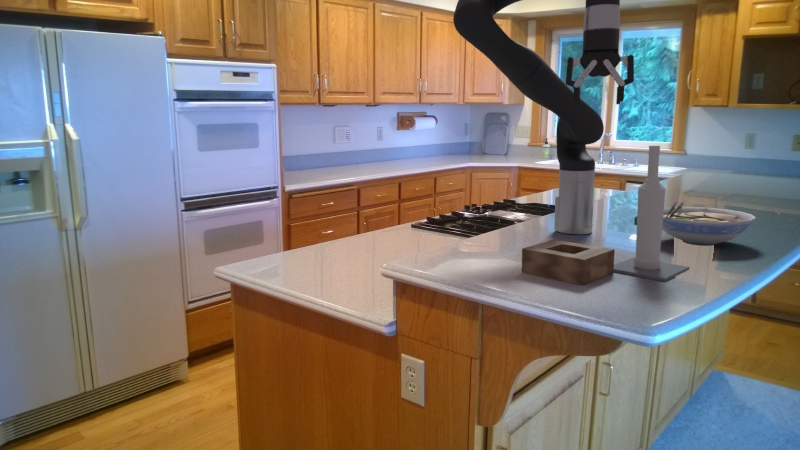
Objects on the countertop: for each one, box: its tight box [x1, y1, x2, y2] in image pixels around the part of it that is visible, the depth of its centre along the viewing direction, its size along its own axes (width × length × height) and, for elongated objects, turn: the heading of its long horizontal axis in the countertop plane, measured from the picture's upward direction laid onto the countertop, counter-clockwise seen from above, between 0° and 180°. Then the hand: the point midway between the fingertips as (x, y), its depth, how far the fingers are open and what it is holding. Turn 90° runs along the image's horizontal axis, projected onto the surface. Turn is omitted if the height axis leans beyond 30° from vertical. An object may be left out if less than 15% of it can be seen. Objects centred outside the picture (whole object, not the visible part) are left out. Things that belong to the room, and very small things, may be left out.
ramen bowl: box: [662, 201, 757, 247], centre depth 144 cm, size 25×23×8 cm
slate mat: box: [613, 257, 690, 282], centre depth 121 cm, size 12×12×1 cm
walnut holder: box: [521, 239, 615, 286], centre depth 119 cm, size 14×12×5 cm
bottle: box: [633, 145, 667, 270], centre depth 118 cm, size 5×5×25 cm
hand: (597, 104), depth 130 cm, fingers open, 8 cm apart
